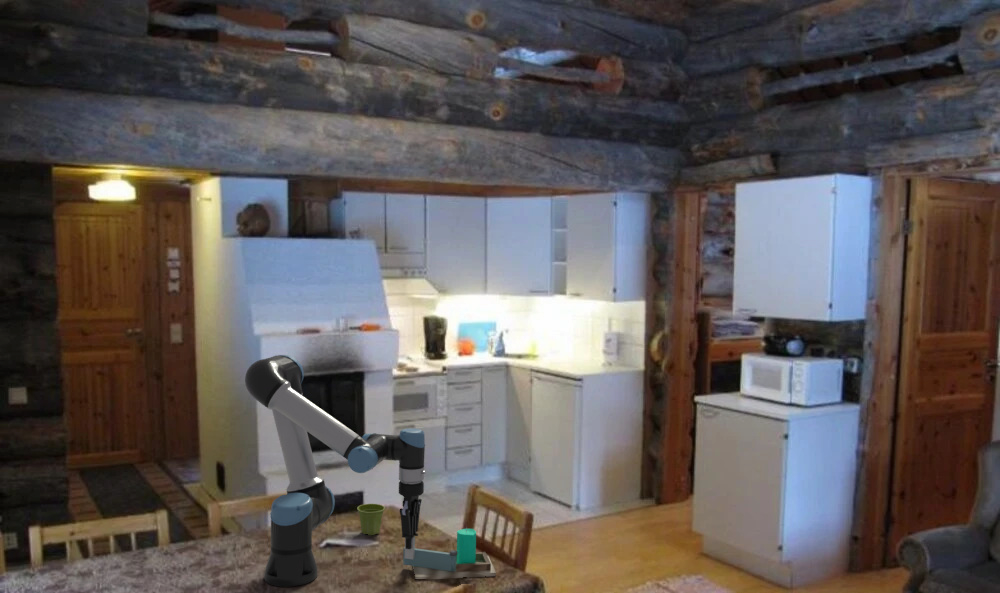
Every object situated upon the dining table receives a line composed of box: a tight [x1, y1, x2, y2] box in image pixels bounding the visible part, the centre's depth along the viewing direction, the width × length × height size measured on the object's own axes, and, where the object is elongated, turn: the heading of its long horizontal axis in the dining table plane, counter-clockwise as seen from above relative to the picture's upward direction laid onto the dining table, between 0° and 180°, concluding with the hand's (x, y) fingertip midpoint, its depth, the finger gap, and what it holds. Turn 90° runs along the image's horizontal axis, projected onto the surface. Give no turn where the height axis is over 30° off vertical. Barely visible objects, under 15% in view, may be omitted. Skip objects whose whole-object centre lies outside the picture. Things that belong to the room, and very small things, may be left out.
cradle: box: [412, 551, 497, 580], centre depth 248 cm, size 24×14×3 cm, turn 100°
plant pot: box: [356, 503, 386, 536], centre depth 279 cm, size 9×9×9 cm
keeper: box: [402, 546, 458, 572], centre depth 246 cm, size 2×17×6 cm, turn 73°
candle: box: [456, 527, 477, 564], centre depth 249 cm, size 6×6×12 cm
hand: (409, 558), depth 246 cm, fingers closed
